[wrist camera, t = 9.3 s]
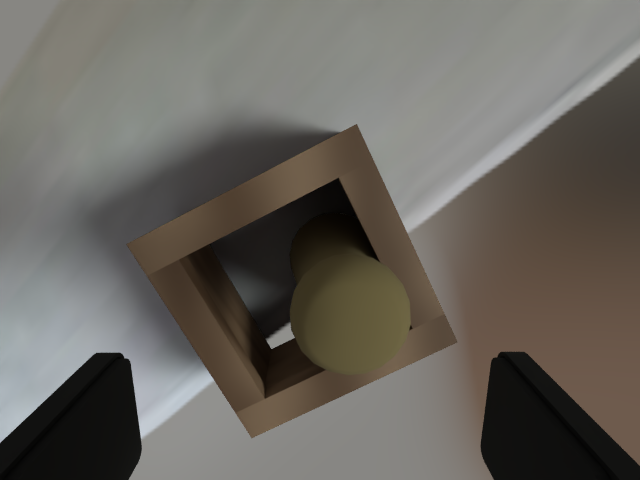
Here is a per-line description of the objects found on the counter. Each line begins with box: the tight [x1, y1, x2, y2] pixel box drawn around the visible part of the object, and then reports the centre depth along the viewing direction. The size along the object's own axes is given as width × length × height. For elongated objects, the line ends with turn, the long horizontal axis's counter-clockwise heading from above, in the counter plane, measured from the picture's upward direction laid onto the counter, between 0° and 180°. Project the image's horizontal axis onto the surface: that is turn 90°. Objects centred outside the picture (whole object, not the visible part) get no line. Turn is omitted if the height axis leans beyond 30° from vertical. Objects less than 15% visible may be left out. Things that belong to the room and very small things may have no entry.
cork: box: [290, 213, 411, 375], centre depth 20 cm, size 6×6×11 cm
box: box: [126, 124, 457, 438], centre depth 22 cm, size 12×12×7 cm
